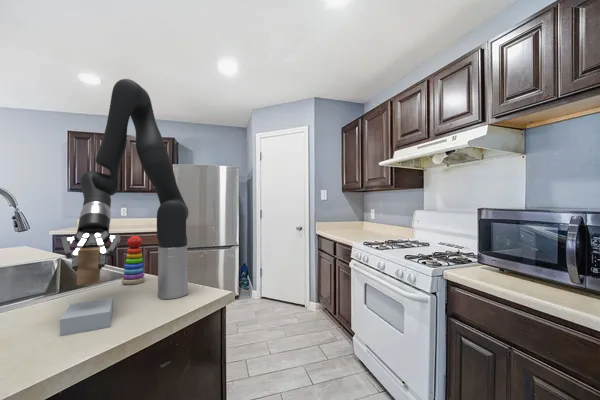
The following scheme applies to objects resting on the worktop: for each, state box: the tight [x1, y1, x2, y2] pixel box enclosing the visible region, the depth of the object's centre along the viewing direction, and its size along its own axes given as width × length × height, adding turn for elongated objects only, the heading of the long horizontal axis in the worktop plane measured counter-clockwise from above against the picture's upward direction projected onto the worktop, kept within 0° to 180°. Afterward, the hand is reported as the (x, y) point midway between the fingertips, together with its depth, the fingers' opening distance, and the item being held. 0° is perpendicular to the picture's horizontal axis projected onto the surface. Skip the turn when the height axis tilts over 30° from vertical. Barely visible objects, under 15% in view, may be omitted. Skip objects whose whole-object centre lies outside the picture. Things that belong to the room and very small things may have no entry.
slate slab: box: [59, 297, 114, 337], centre depth 76 cm, size 10×12×4 cm
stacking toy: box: [121, 235, 145, 286], centre depth 113 cm, size 8×8×19 cm
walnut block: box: [76, 247, 101, 286], centre depth 76 cm, size 4×4×9 cm
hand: (88, 268), depth 74 cm, fingers closed on walnut block, 4 cm apart
